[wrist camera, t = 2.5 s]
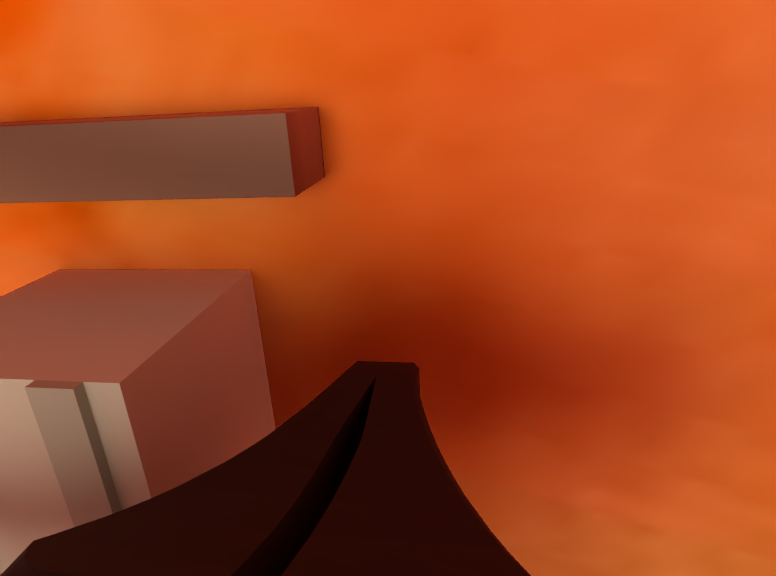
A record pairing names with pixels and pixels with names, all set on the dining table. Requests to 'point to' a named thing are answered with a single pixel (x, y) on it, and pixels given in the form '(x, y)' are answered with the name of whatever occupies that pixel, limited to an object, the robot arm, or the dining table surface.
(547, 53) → the dining table surface
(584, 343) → the dining table surface
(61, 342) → the crate
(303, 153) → the bay
